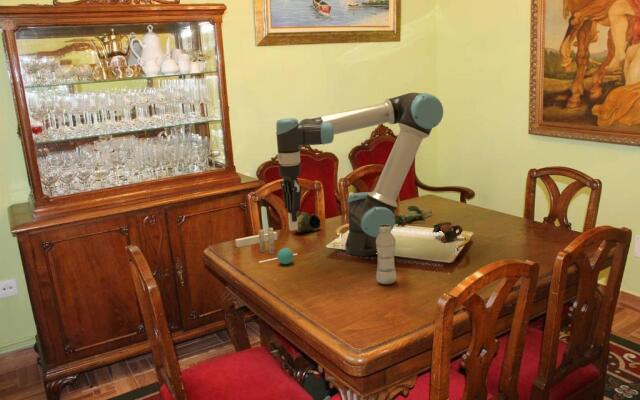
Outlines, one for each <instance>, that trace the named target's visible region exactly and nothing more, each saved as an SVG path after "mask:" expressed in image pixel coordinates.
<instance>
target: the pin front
mask: <svg viewBox="0 0 640 400" xmlns="http://www.w3.org/2000/svg"><path fill="white" fill-rule="evenodd" d="M273 232H274V230H273V231H269V232H268V231H267V233H268V241H267V242H268V252H269V255H274V254H275V250H274V248H275V240H274V241H273Z"/></svg>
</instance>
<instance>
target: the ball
mask: <svg viewBox="0 0 640 400" xmlns="http://www.w3.org/2000/svg"><path fill="white" fill-rule="evenodd" d="M293 254H294V252H293V251H292V250H291V249H290V248H287V247H286V248H281V249H280V250H279V251H278V253H277V257H278V259H277V260H278V262H279V263H281V264H282V265H288V264H291V263H292V262H293V259H294V256H295V255H294V256H293Z"/></svg>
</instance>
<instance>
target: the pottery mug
mask: <svg viewBox="0 0 640 400" xmlns="http://www.w3.org/2000/svg"><path fill="white" fill-rule="evenodd" d="M457 230H458V231H457ZM439 231H442V232H443V233H442V234H443V236H440V238H439V240H440V241H441V243H446V242H455V239H457V238H458V237H460V235H462V233H463V228H462V226H461V225H458V224H457V225H452V222H450V221H447V222H441V223H436V224H434V225H433V230H432V234H434V233H437V232H438V233H440V232H439ZM438 233H437V234H438Z"/></svg>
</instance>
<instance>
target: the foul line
mask: <svg viewBox="0 0 640 400" xmlns="http://www.w3.org/2000/svg"><path fill="white" fill-rule="evenodd" d="M293 256H298V253H297V252H296V253H293ZM274 260H278V256H277V257H274V258H269V259H265V260H260V261H258V263H259V264H262V263H266V262H270V261H274Z"/></svg>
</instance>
